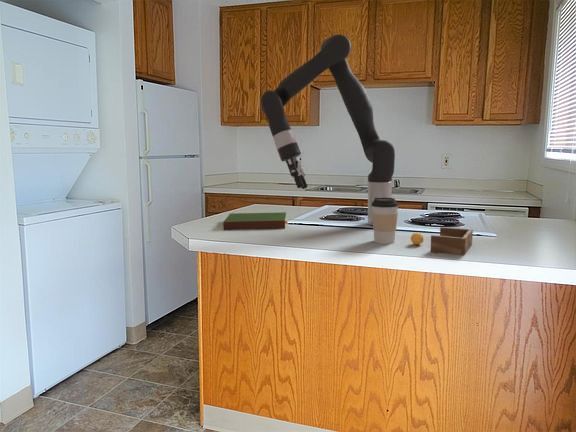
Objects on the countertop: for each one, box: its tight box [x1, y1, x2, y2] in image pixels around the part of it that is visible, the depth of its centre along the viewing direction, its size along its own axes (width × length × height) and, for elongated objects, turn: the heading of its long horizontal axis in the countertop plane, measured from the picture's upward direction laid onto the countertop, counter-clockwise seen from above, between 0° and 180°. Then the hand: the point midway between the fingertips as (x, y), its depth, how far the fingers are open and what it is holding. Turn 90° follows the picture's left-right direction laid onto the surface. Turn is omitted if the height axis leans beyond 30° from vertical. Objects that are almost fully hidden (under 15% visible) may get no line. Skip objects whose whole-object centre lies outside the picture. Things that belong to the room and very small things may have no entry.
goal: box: [430, 226, 474, 256], centre depth 148 cm, size 14×10×5 cm
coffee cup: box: [371, 197, 400, 245], centre depth 158 cm, size 9×9×15 cm
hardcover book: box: [222, 211, 288, 231], centre depth 194 cm, size 25×19×4 cm
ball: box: [410, 232, 424, 246], centre depth 154 cm, size 4×4×4 cm
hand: (303, 187), depth 166 cm, fingers open, 8 cm apart
